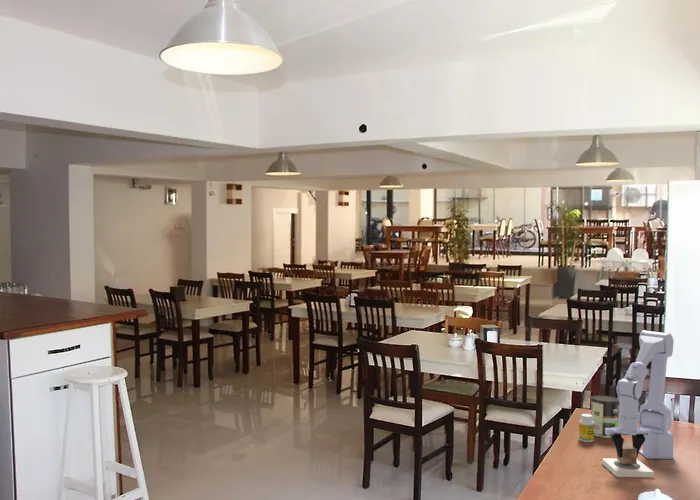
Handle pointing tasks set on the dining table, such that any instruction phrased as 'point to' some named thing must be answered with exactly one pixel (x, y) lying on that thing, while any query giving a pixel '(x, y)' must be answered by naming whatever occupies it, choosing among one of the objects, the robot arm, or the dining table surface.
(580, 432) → the supplement bottle
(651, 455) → the robot arm
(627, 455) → the walnut block
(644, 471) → the base board
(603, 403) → the coffee can
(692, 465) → the dining table surface
